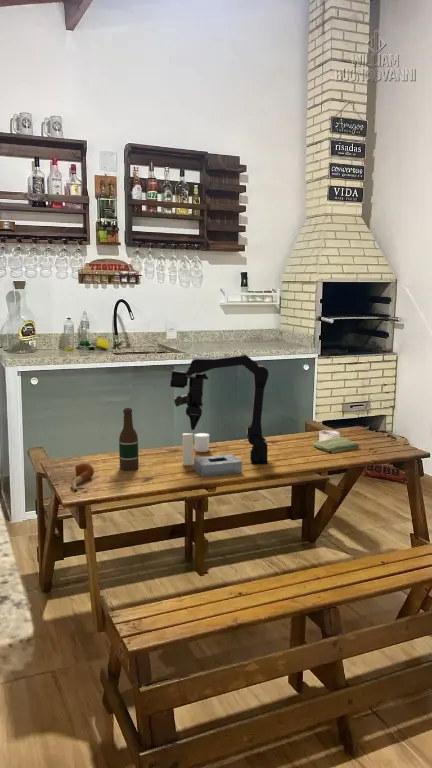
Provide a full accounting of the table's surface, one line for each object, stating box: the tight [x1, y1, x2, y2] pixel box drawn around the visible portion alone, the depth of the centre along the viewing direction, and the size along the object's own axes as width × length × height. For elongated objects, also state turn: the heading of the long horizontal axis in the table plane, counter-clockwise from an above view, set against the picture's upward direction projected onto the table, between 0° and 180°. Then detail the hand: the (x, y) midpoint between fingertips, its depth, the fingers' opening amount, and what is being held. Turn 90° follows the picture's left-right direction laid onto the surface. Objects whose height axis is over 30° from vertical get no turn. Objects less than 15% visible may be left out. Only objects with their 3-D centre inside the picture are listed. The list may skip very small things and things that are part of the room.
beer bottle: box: [118, 407, 140, 472], centre depth 254 cm, size 8×8×24 cm
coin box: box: [193, 453, 243, 478], centre depth 252 cm, size 16×11×4 cm
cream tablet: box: [182, 432, 194, 466], centre depth 260 cm, size 4×2×12 cm, turn 95°
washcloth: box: [312, 436, 360, 454], centre depth 285 cm, size 13×18×3 cm
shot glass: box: [193, 432, 211, 453], centre depth 281 cm, size 7×7×7 cm
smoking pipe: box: [70, 462, 95, 492], centre depth 238 cm, size 7×18×6 cm, turn 5°
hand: (193, 427), depth 261 cm, fingers open, 9 cm apart
